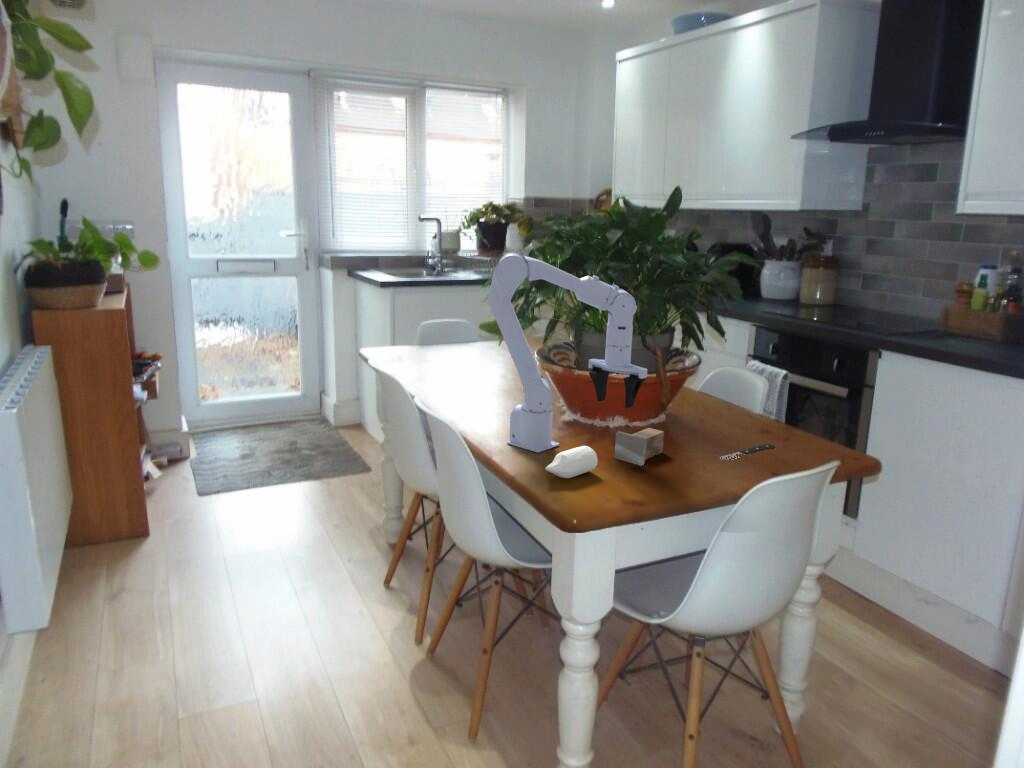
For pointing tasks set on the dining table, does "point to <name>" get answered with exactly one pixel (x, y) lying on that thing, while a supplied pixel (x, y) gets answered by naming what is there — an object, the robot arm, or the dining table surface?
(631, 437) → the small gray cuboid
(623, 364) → the robot arm
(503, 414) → the dining table surface
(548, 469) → the white pointed cylinder
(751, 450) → the kitchen knife
